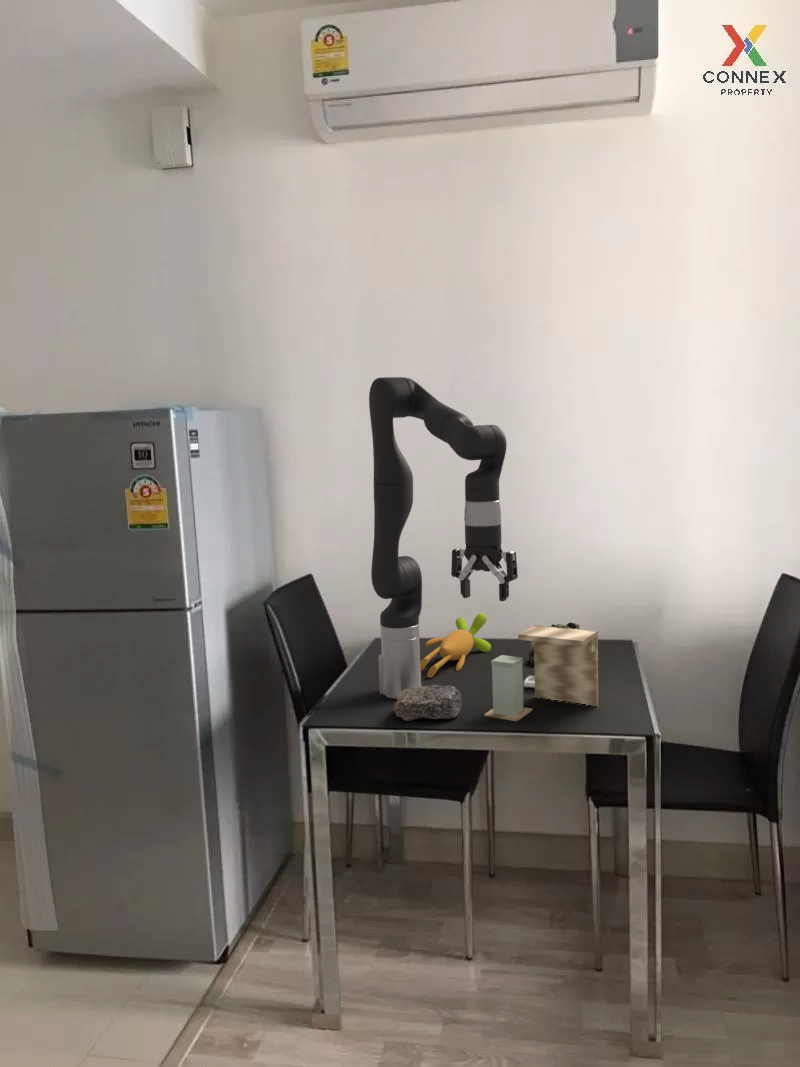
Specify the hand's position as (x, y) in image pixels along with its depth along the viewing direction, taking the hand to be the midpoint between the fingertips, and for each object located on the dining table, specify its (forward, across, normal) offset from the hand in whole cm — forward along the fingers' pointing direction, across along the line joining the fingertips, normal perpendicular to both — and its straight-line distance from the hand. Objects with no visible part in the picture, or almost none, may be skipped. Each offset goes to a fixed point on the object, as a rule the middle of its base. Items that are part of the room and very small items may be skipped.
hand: (484, 598), depth 190 cm
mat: (+28, 0, -10) cm, 30 cm away
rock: (+28, +16, -2) cm, 33 cm away
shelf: (+28, -9, -19) cm, 35 cm away
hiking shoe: (+28, +8, -57) cm, 64 cm away
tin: (+28, 0, -10) cm, 29 cm away
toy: (+29, +32, -41) cm, 60 cm away
